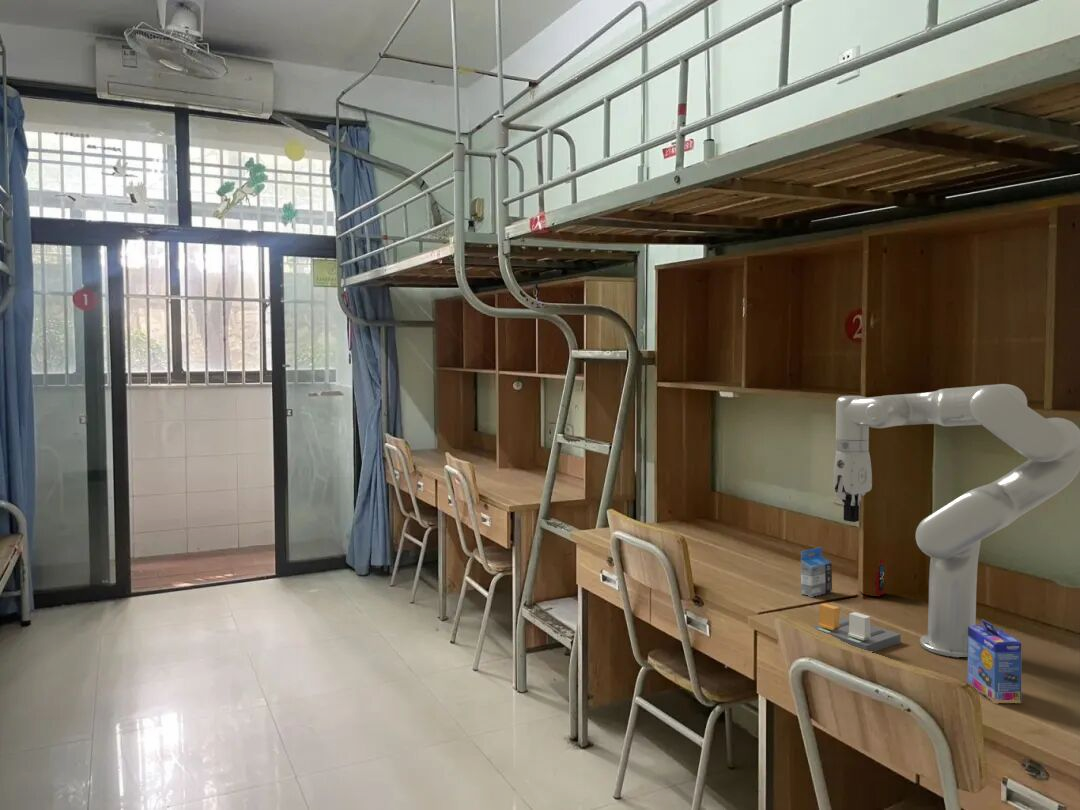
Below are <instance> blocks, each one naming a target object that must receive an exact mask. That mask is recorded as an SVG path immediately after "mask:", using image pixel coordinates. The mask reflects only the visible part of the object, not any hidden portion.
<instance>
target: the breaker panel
mask: <svg viewBox="0 0 1080 810" xmlns="http://www.w3.org/2000/svg"><path fill="white" fill-rule="evenodd" d="M839 626H840V628H839V629H836V630H830V629H827V628H824V627H821V626H818V624H816V625H811V627H813V628H815V629H817V630H819V631H822V632H824V633H827V634H830V635H832V636H834V637H836V638H838V639H840V640H841V641H843V642H846V643H848V644H850V645H852V646H855V647H858V648H861V649H864V650H868V651H873V652H872V653H874V652H878V651H881V650H884V649H887V648H890V647H892V646H895V645H898V644H900V643H901V639H902V638H901V635H902V634H901V633H898V632H896V631H893V630H888V629H885V628H883V627H878V626H875V625H872V624H870V636H871V638H870V639H867V640H864V641H863V640H860V639H857V638H854V637H851V636H848V633H849V617H846V616H843V617H842V616H841V617H839Z"/></svg>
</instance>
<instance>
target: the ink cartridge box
mask: <svg viewBox="0 0 1080 810" xmlns="http://www.w3.org/2000/svg"><path fill="white" fill-rule="evenodd" d="M981 621H982V623H983V625H981V624H980V625H976V624H975V625H974V626H968V658H967V683H968V682H969V683H970V684H972V685H973V686H975V688H977V689H978V690H979V691H982V692H983V693H985V694H987V695H988V696H990V697H992V698H994V699H999V700H1000V699H1001V700H1010V699H1011V700H1012V699H1014V700H1021V701H1022V642H1021V641H1020V640H1019V639H1018V638H1015V637H1014V636H1012V635H1010V634H1009V633H1006V632H1003V630H1002V629H1000V628H998V627H996V626H994V624H992V623H989V622H988V621H986V620H984V619H983V618H981Z"/></svg>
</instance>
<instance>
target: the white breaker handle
mask: <svg viewBox="0 0 1080 810" xmlns="http://www.w3.org/2000/svg"><path fill="white" fill-rule="evenodd" d="M848 618H849V633H848V636H851V637H854V638H857V639H860V640H863V641H864V640H867V639H870V638H871V636H870V625H871V616H870V615H866V614H863V613H860V612H856V611H854V612H850V613H849V615H848Z"/></svg>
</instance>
